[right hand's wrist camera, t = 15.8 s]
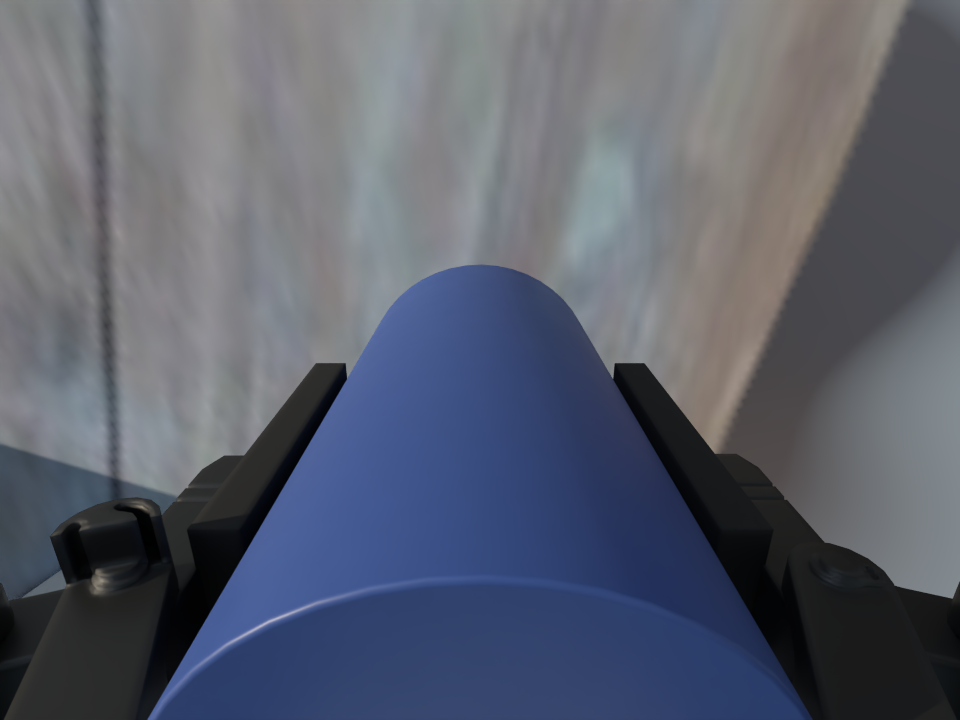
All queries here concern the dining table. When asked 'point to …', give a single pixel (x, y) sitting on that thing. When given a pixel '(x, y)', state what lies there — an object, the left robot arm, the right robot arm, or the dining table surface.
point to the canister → (480, 545)
